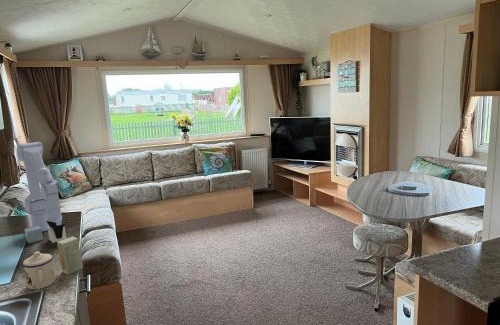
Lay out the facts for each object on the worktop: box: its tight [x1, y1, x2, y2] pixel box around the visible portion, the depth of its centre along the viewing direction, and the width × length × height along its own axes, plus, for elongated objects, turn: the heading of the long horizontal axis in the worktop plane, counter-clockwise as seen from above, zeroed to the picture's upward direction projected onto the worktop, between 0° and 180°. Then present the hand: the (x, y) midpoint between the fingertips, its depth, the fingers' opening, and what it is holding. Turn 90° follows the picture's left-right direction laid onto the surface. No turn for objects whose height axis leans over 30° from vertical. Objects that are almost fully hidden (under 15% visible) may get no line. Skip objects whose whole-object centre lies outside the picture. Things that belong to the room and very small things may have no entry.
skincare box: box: [56, 236, 84, 275], centre depth 136 cm, size 6×4×12 cm
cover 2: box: [47, 227, 67, 244], centre depth 168 cm, size 6×6×6 cm
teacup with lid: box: [22, 250, 56, 290], centre depth 126 cm, size 12×9×12 cm
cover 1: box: [24, 226, 44, 244], centre depth 169 cm, size 6×6×6 cm
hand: (57, 236), depth 169 cm, fingers closed on cover 2, 6 cm apart
